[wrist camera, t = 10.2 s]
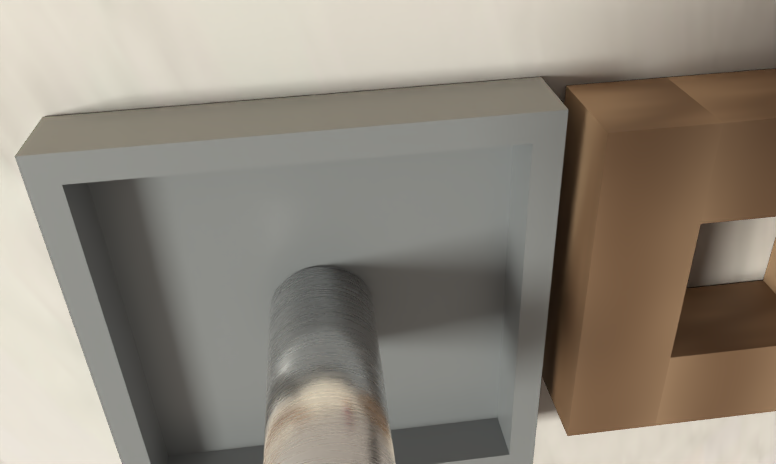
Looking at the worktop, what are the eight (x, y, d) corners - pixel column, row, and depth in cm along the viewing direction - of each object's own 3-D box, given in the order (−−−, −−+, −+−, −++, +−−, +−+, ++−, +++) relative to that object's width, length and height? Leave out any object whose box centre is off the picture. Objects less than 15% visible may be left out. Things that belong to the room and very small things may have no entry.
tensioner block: (921, 56, 20) (1013, 97, 17) (819, 336, 25) (878, 398, 23) (566, 85, 19) (608, 133, 17) (538, 367, 25) (567, 435, 22)
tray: (540, 76, 19) (568, 109, 17) (514, 418, 26) (532, 468, 24) (42, 116, 18) (14, 156, 16) (151, 461, 25) (140, 516, 23)
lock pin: (369, 261, 21) (404, 506, 14) (376, 340, 22) (410, 591, 16) (263, 272, 20) (248, 525, 14) (277, 351, 22) (270, 611, 15)
